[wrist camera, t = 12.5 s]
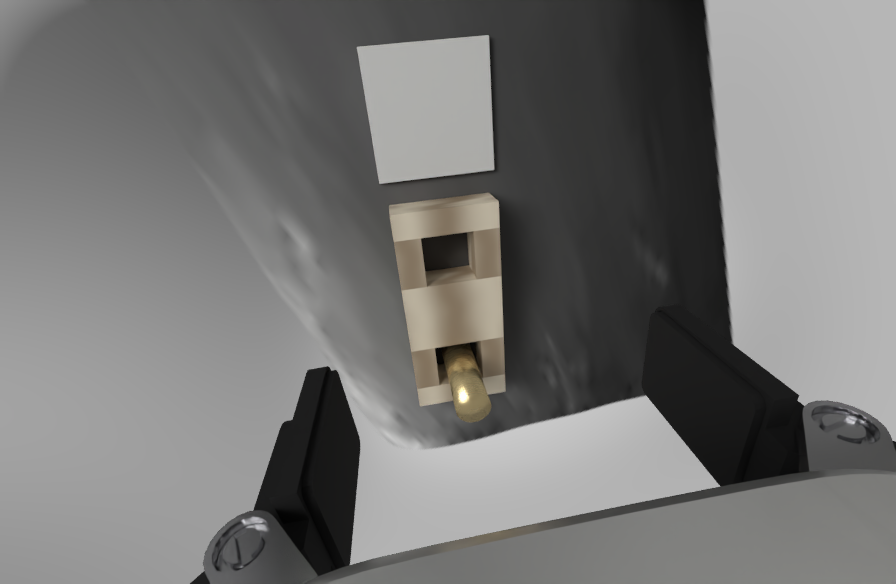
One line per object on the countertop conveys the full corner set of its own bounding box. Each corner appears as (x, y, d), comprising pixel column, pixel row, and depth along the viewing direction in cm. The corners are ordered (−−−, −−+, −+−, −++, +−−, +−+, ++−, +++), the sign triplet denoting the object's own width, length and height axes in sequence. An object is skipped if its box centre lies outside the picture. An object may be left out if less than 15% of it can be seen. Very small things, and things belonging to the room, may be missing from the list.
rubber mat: (487, 35, 31) (488, 35, 31) (493, 169, 35) (494, 169, 35) (357, 47, 30) (356, 46, 30) (379, 183, 34) (379, 183, 34)
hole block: (488, 192, 36) (498, 201, 33) (497, 371, 45) (505, 391, 42) (389, 205, 35) (389, 215, 32) (417, 384, 44) (420, 406, 41)
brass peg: (467, 329, 42) (490, 391, 33) (469, 353, 43) (491, 418, 34) (439, 334, 42) (454, 397, 33) (442, 357, 43) (457, 424, 34)
